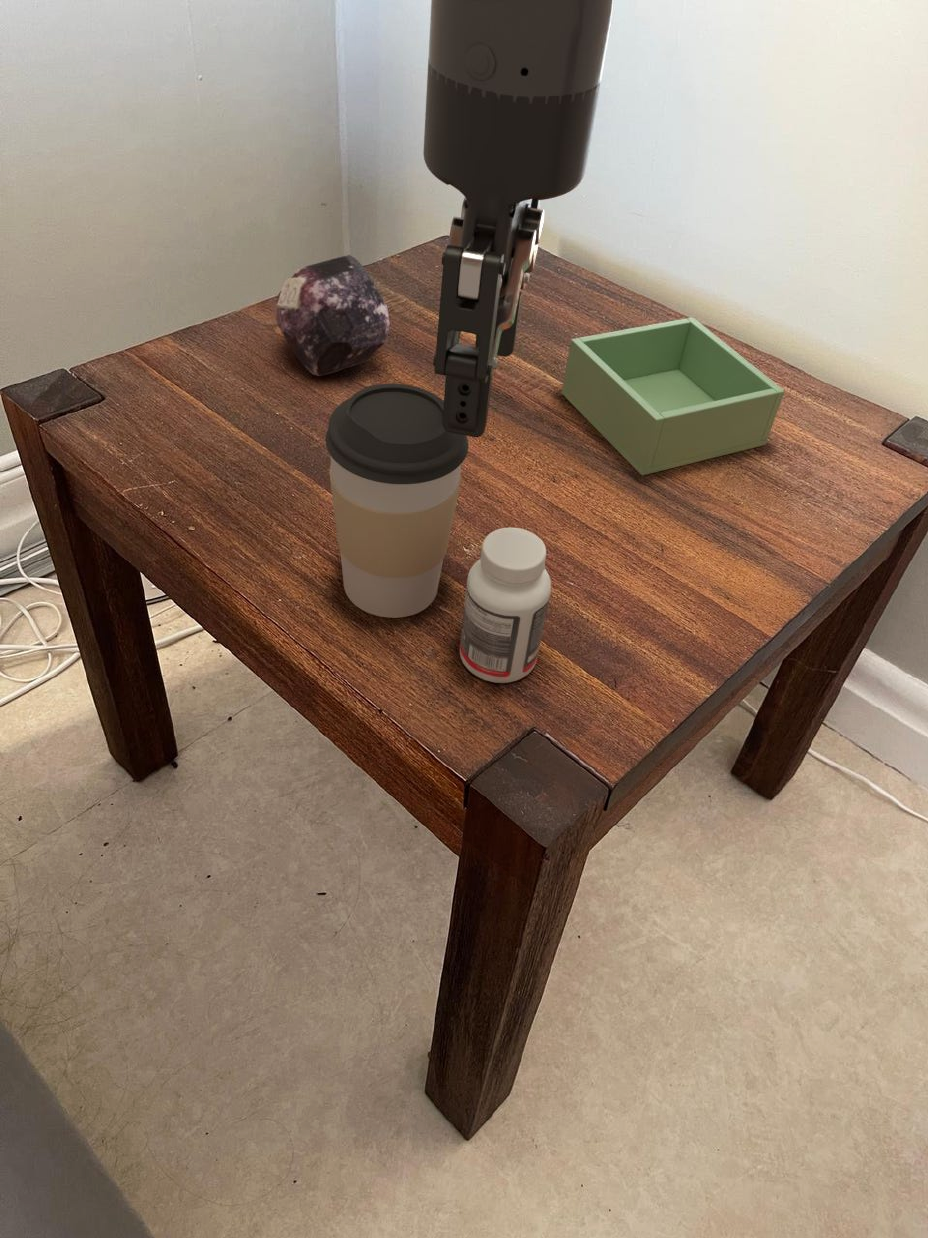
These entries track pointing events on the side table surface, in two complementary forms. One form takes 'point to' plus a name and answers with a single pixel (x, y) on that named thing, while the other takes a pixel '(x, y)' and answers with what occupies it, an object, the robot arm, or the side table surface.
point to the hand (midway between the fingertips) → (479, 388)
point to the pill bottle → (505, 606)
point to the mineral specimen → (332, 315)
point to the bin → (670, 394)
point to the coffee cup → (393, 495)
